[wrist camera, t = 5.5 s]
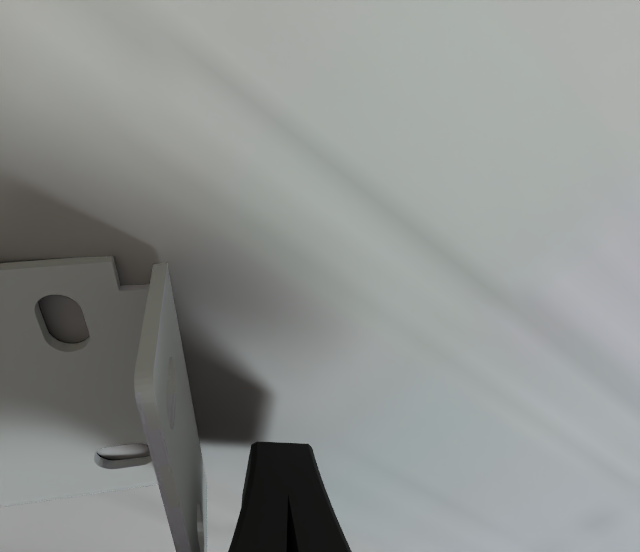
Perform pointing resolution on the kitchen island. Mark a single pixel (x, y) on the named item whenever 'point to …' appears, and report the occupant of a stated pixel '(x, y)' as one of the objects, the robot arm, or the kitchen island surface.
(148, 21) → the kitchen island surface
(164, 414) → the bracket
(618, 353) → the kitchen island surface
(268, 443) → the robot arm
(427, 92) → the kitchen island surface
